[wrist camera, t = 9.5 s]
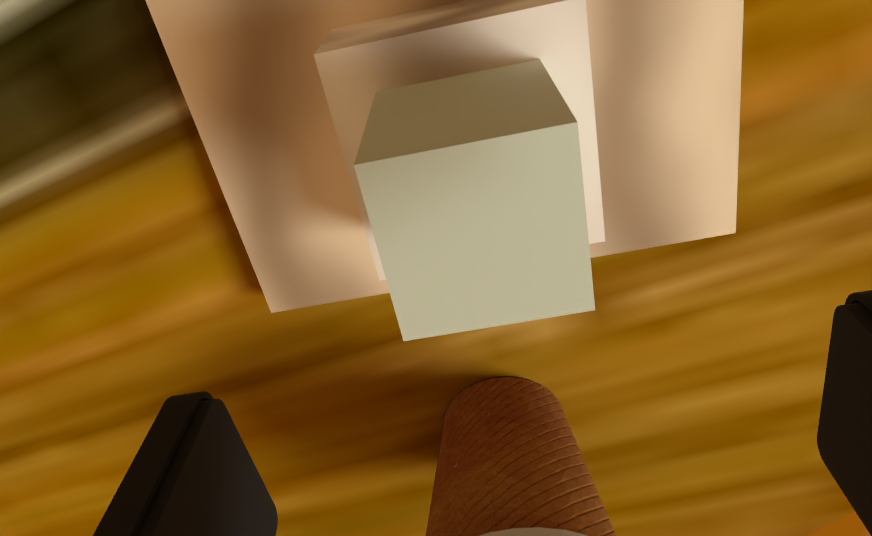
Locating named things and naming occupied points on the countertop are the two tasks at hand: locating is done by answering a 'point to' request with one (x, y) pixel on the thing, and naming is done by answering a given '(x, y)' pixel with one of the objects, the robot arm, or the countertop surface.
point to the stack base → (309, 173)
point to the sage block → (477, 200)
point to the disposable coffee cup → (512, 467)
